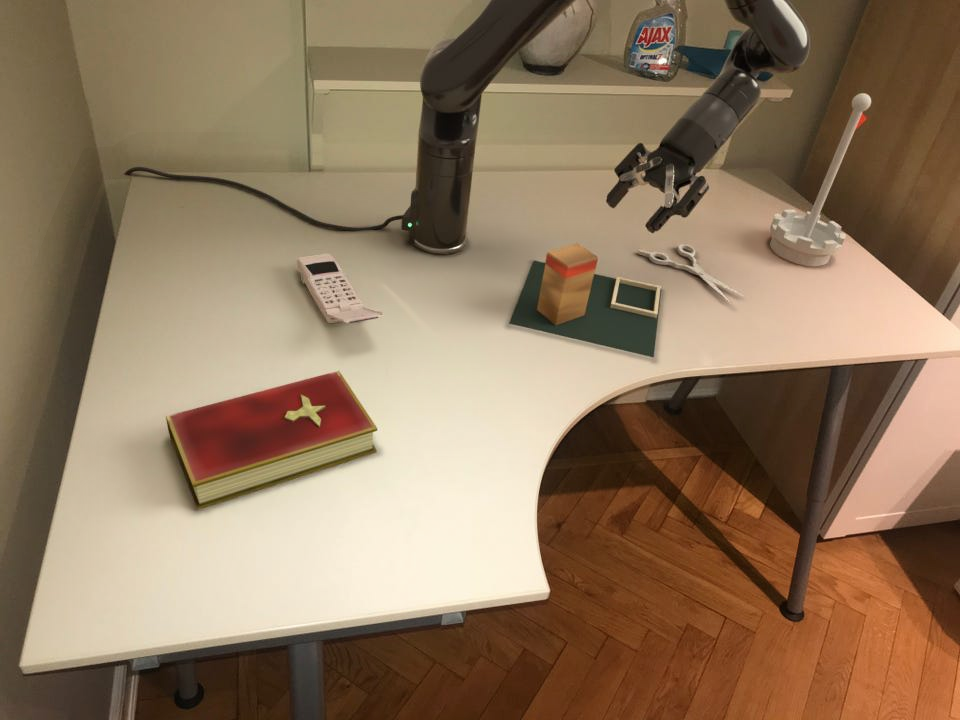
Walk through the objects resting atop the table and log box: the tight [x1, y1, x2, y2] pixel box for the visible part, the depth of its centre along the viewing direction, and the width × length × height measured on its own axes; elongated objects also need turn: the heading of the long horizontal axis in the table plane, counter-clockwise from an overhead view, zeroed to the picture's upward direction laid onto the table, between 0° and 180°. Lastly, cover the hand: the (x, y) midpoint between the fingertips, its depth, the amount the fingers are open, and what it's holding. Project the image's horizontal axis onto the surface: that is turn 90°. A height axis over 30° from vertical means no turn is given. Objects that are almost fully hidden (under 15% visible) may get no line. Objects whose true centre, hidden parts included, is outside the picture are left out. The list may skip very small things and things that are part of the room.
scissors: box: [637, 243, 748, 305], centre depth 133 cm, size 11×1×20 cm
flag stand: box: [769, 92, 872, 267], centre depth 136 cm, size 13×13×30 cm
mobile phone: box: [296, 253, 383, 324], centre depth 113 cm, size 6×6×25 cm
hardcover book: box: [165, 370, 378, 511], centre depth 89 cm, size 12×21×4 cm, turn 121°
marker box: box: [537, 242, 599, 325], centre depth 116 cm, size 5×6×10 cm
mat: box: [508, 260, 662, 358], centre depth 121 cm, size 22×20×1 cm
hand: (628, 217), depth 115 cm, fingers open, 8 cm apart
